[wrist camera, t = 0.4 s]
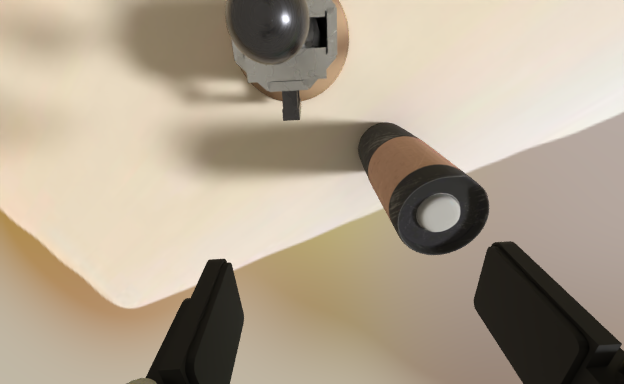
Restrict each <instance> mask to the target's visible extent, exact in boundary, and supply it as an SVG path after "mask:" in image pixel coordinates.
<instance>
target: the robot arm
mask: <svg viewBox="0 0 624 384" xmlns="http://www.w3.org/2000/svg"><path fill="white" fill-rule="evenodd" d="M474 306H475V309H476V311H477V312H478V314H479V316H480V317H481V319H482V320H483V322H484V323H485V325H486V326H487V328H488V329H489V331H490V333H491V334H492V336H493V337H494V339H495V340H496V342H497V343H498V345H499V347H500V348H501V350H502V351H503V353H504V354H505V356H506V357H507V359H508V360H509V362H510V364H511V365H512V367H513V368H514V370H515V371H516V373H517V375H518V376H519V378H520V379H521V381H522V382H523V384H624V351H623V350H622V349H621V348H620V346H621V345H622V344H621V343H620V342H619V341H618V340H617V339H616V338H615V337H614V336H613V335H612V334H611V333H610V332H609V331H608V330H607V329H605V328H604V327H603V326H602V325H601V324H600V323H599V322H598V321H597V320H596V319H595V318H594V317H593V316H592V315H591V314H590V313H588V312H587V311H586V310H585V309H584V308H583V307H582V306H581V305H580V304H579V303H578V302H577V301H576V300H575V299H574V298H573V297H571V296H570V295H569V294H568V293H567V292H566V291H565V290H564V289H563V288H562V287H561V286H560V285H559V284H558V283H557V282H556V281H554V280H553V279H552V278H551V277H550V276H549V275H548V274H547V273H546V272H545V271H544V270H543V269H542V268H541V267H540V266H539V265H537V264H536V263H535V262H534V261H533V260H532V259H531V258H530V257H529V256H528V255H527V254H526V253H525V252H524V251H523V250H522V249H521V248H519V247H518V246H517V245H516V244H515V243H514V242H495V243H493V244H492V246H491V247H489V248H488V249H487V252H486V256H485V260H484V263H483V267H482V271H481V275H480V278H479V282H478V286H477V290H476V294H475V297H474ZM243 322H244V314H243V309H242V305H241V301H240V297H239V293H238V288H237V284H236V280H235V276H234V272H233V268H232V264H231V263H227V261H226V260H225V259H213V260H208V262H207V264H206V266H205V268H204V270H203V272H202V275H201V277H200V279H199V281H198V283H197V285H196V288H195V290H194V292H193V294H192V296H191V298H187V299H185V300H184V301H183V302H182V304H181V306H180V308H179V310H178V312H177V314H176V316H175V319H174V320H173V323H172V324H171V327H170V329H169V331H168V333H167V335H166V337H165V339H164V341H163V343H162V345H161V347H160V349H159V351H158V353H157V355H156V358H155V360H154V362H153V364H152V366H151V368H150V370H149V372H148V374H147V376H146V378H140V379H137V380H133V381H131V382H129V383H127V384H230V380H231V375H232V372H233V367H234V362H235V358H236V354H237V349H238V345H239V341H240V336H241V332H242V327H243Z"/></svg>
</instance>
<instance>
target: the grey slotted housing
mask: <svg viewBox="0 0 624 384" xmlns="http://www.w3.org/2000/svg"><path fill="white" fill-rule="evenodd" d="M306 2H307V5H308V10H309V18H316V20H317V23H318V28H319V45H318V48H306V49H300V51H299V52H298V53H297V54H296V55H295V56H294V57H293V58H291V59H290V60H288V61H286V62H284V63H281V64H277V65H265V64H260V63H257V62H255V61H253V60H251V59H249V58H248V57H246V56H245V55H244V54H243V53H242V52H241V51H240V50H239V49H238V48H237V47H236V45H235V44H234V42H233V40H232V39H231V40H232V47H233V53H234V60H235V61H236V64H237V65H239V66H240V67H241V68H242V69H243V70H244V71H245V72H246V73H247V79H248V83H255V82H258V83H259V84H260V85H261V86H262V87H263V88H264V89H265V90H267V91H269V92H278V91H282V100H283V110H282V111H283V121H287V120H300V114H301V98H300V93H299V90H308V88H309V89H310V88H311V87H312V86H313V84H314V83H315V82H316V81H317V80H318V79H326V78H327V72H326V69H327V68H328V67H329V66H330V64H331V63H332V62H333V61H334V60H335V59H336V55H337V7H335V6H336V5H335V4H334V3H333V1H332V0H306Z"/></svg>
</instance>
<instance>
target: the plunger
mask: <svg viewBox="0 0 624 384" xmlns="http://www.w3.org/2000/svg"><path fill="white" fill-rule="evenodd" d="M225 18H226V25H227V29H228V32H229V34H230V36H231V39H232V40H233V42H234V44H235V45H236V47H237V48H238V49H239V50H240V51H241V52H242V53H243V54H244V55H245V56H246V57H248V58H249V59H251V60H253V61H255V62H257V63H260V64H265V65H277V64H281V63H284V62H286V61H288V60H290V59H291V58H293V57H294V56H295V55H296V54H297V53H298V52H299V51H300V49H306V48H318V45H319V28H318V23H317V20H316V18H309V10H308V5H307V2H306V0H227V1H226V7H225Z"/></svg>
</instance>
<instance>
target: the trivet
mask: <svg viewBox="0 0 624 384" xmlns="http://www.w3.org/2000/svg"><path fill="white" fill-rule="evenodd" d="M332 1H333V3H334V4H335V5H336V6H335V7H337V55H336V59H335V60H334V61H333V62H332V63H331V64H330V66H329V67H328V68H327V69H326V72H327V78H326V79H318V80H317V81H316V82H315V83H314V84H313V86H312V87H311V88H310V89H309V88H308V90H299V93H300V98H301V101H304V100H308V99H311V98H313V97H315V96H317V95H319V94H321V93H322V92H323V91H325V90H326V89H327V88H328V87H329V86H330V85H331V84H332V83H333V82H334V81H335V80H336V78H337V77H338V75H339V74H340V72H341V70H342V68H343V65H344V63H345V60H346V57H347V52H348V46H349V30H348V24H347V19H346V16H345V13H344V10H343V8H342V6H341V4H340V2H339V0H332ZM240 68H241V67H240ZM241 70H242V71H243V73H244V74H245V76H246V77H247V73H246V72H245V71H244V70H243V69H242V68H241ZM252 84H253V85H254V86H255V87H256V88H257V89H258V90H260V91H261V92H262V93H264V94H266V95H267V96H269V97H272V98H274V99H277V100H281V101H283V100H282V91H278V92H269V91H267V90H265V89H264V88H263V87H262V86H261V85H260V84H259V83H258V82H255V83H252Z"/></svg>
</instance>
